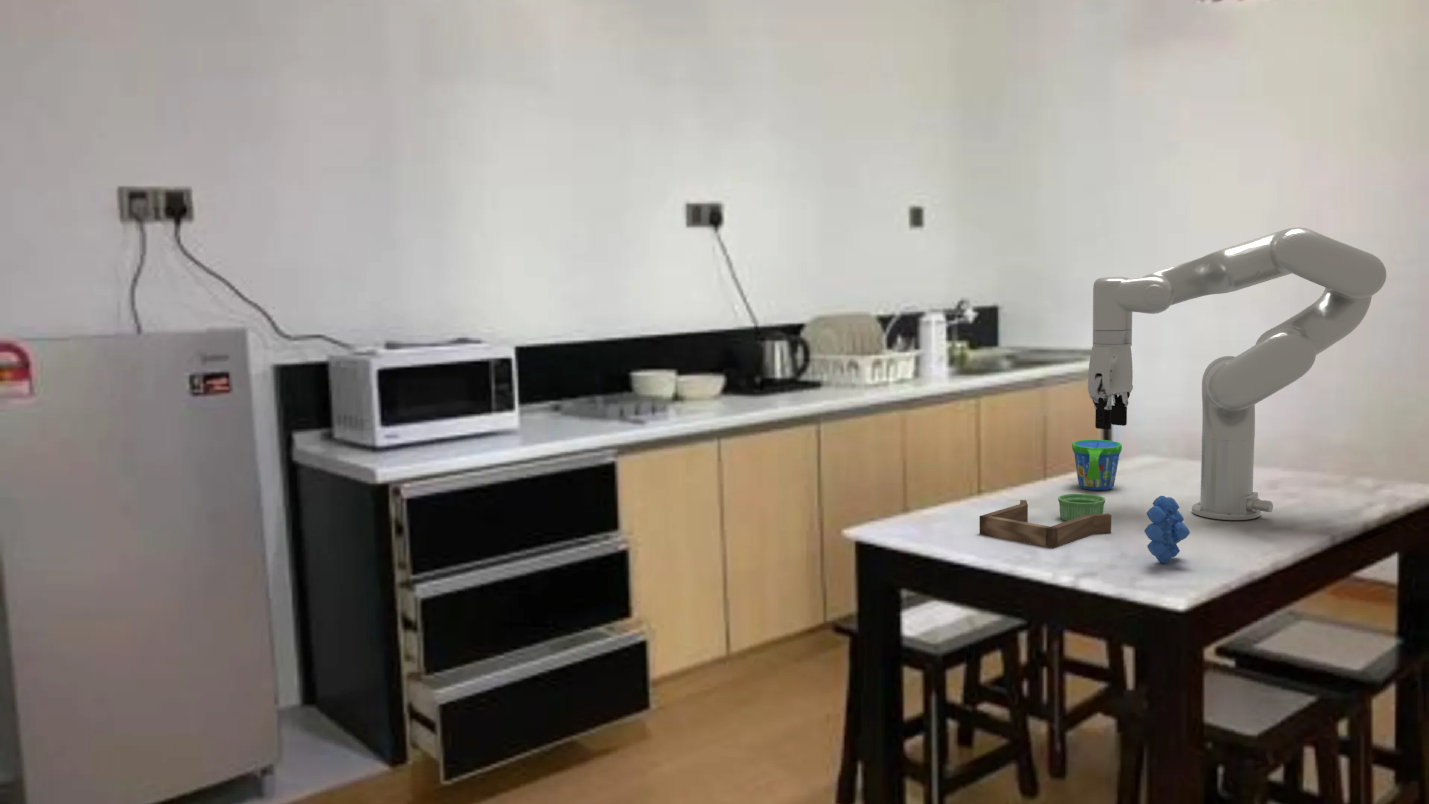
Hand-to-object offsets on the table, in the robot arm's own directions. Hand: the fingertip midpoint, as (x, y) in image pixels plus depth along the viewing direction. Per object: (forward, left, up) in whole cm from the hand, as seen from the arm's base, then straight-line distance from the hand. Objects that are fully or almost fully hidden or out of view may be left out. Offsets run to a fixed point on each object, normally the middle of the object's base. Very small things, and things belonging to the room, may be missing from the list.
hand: (1111, 426), depth 233 cm
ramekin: (0, +11, -18) cm, 21 cm away
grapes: (-28, +30, -18) cm, 45 cm away
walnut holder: (0, +25, -17) cm, 31 cm away
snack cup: (+13, -17, -18) cm, 28 cm away
